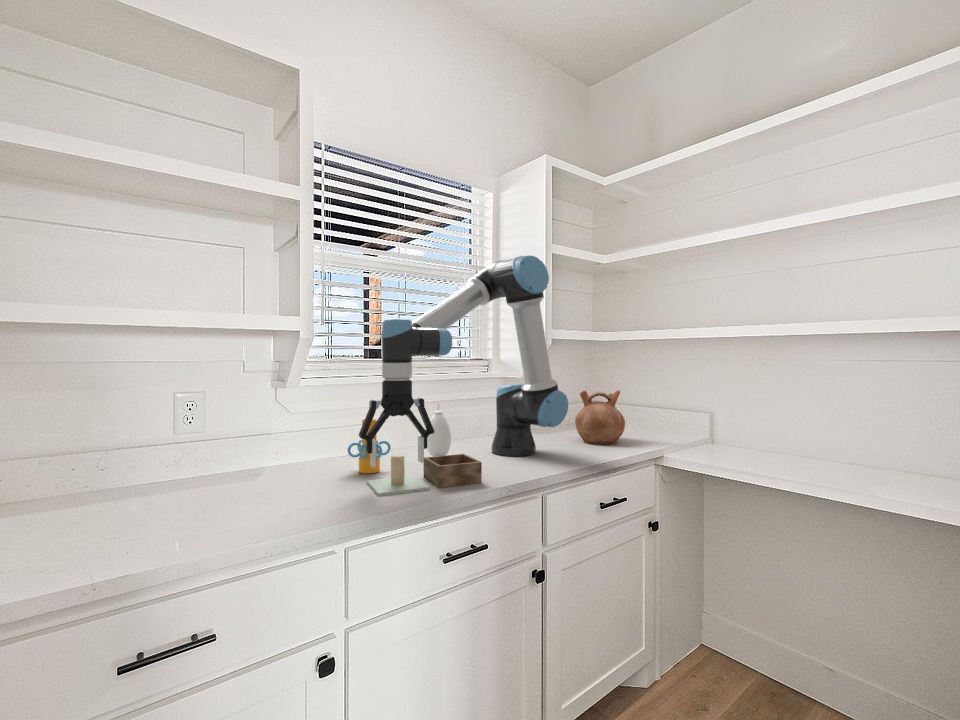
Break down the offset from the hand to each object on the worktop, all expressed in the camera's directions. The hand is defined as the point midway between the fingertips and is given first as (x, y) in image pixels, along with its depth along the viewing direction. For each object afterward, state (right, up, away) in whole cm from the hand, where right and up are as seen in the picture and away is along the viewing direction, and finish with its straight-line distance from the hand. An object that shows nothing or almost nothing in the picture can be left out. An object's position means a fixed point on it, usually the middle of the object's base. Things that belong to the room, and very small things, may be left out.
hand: (397, 463), depth 129 cm
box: (+14, -6, +6) cm, 16 cm away
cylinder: (-11, -6, +16) cm, 20 cm away
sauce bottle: (+8, -5, +33) cm, 35 cm away
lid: (0, -6, 0) cm, 6 cm away
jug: (+67, -5, +63) cm, 92 cm away
